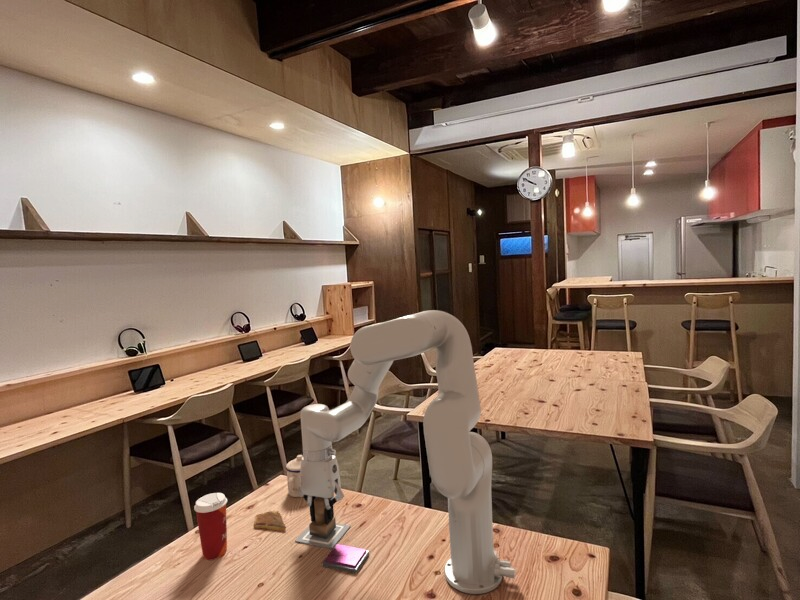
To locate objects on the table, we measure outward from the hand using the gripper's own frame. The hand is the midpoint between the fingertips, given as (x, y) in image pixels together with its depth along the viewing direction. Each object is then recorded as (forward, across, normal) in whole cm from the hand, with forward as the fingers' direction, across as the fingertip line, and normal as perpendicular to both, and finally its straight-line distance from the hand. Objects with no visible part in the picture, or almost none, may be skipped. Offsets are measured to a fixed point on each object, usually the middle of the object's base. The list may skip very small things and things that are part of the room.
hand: (322, 519), depth 115 cm
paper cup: (+4, +23, +14) cm, 27 cm away
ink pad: (+4, -11, +8) cm, 14 cm away
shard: (+5, +17, -2) cm, 18 cm away
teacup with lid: (+4, +19, -18) cm, 26 cm away
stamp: (+3, 0, 0) cm, 3 cm away
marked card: (+4, 0, 0) cm, 4 cm away
